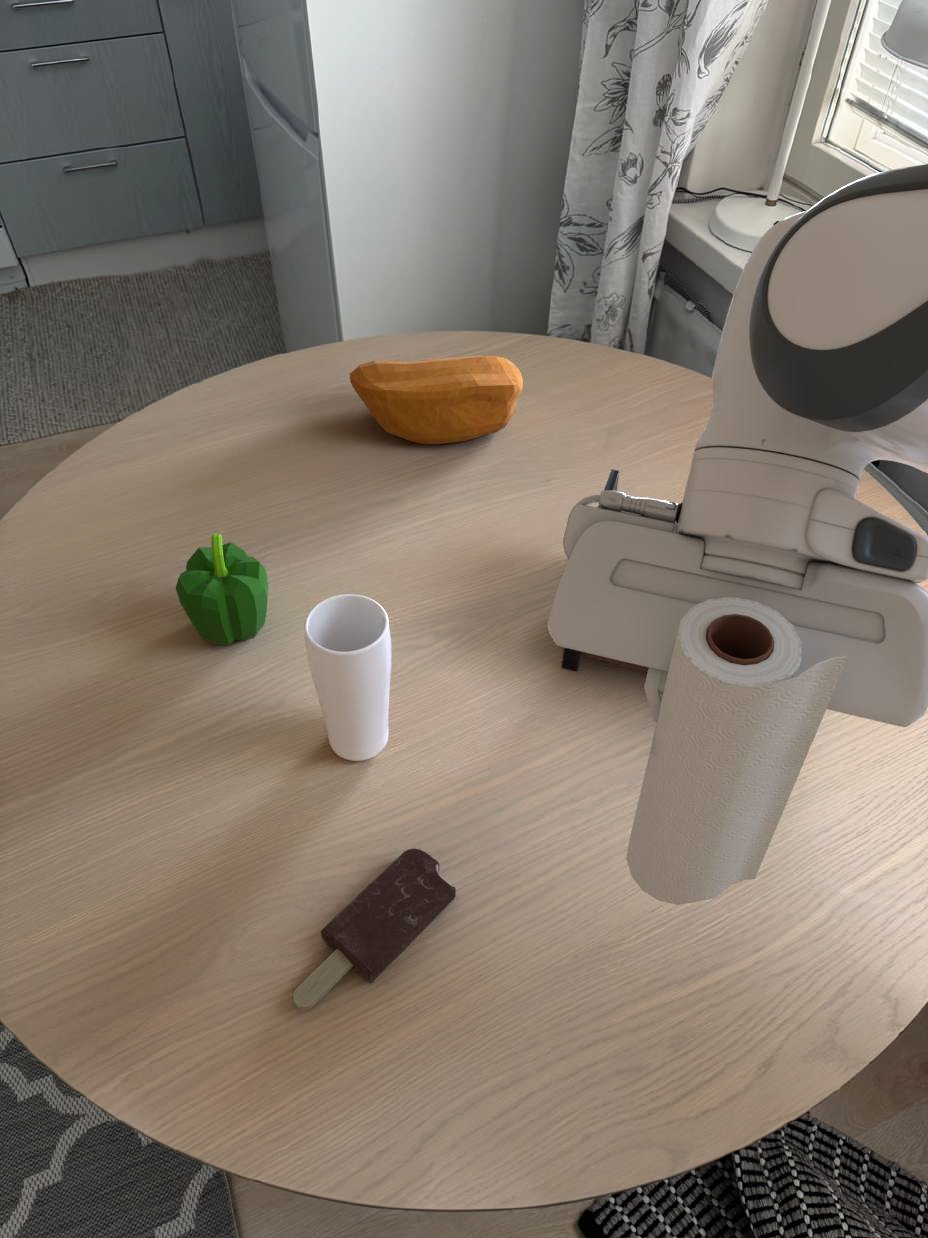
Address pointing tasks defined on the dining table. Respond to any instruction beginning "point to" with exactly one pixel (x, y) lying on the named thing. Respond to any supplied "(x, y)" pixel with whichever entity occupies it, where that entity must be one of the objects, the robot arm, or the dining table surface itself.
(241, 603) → the bell pepper
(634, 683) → the dining table surface
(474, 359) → the bread
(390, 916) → the ice cream bar
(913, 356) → the robot arm
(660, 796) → the paper towel roll
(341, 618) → the drinking glass
